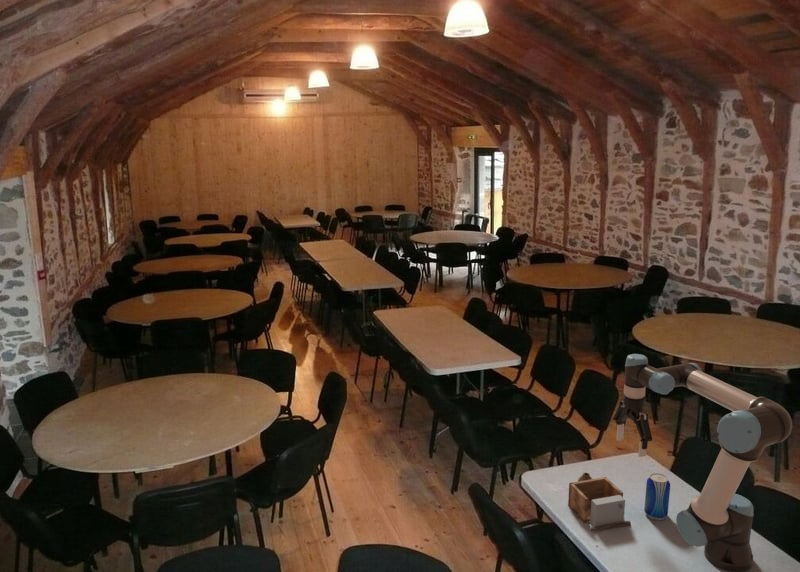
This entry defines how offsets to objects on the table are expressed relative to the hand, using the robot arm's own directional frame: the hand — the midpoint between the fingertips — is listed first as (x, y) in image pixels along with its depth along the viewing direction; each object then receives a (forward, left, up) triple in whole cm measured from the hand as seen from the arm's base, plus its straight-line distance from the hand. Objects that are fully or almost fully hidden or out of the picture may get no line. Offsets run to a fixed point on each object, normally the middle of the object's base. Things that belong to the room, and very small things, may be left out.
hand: (630, 447), depth 248 cm
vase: (+16, +8, -27) cm, 33 cm away
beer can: (-5, -10, -27) cm, 29 cm away
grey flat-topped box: (-5, +11, -27) cm, 30 cm away
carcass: (+1, +11, -27) cm, 29 cm away
